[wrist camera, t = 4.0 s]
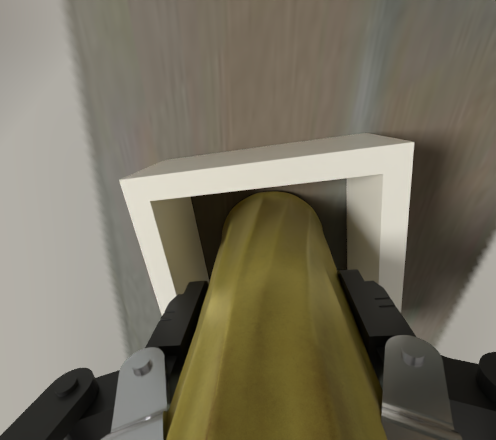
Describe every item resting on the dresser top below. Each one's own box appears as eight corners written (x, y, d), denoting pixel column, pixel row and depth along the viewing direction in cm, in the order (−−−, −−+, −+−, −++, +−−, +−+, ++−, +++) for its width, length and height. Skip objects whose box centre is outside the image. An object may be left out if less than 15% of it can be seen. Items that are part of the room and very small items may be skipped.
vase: (337, 257, 17) (602, 805, 3) (251, 292, 18) (205, 774, 5) (296, 171, 15) (512, 615, 2) (204, 217, 16) (-68, 657, 3)
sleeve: (164, 160, 15) (119, 180, 11) (366, 132, 14) (414, 141, 9) (203, 314, 19) (181, 378, 14) (363, 304, 18) (396, 371, 13)
